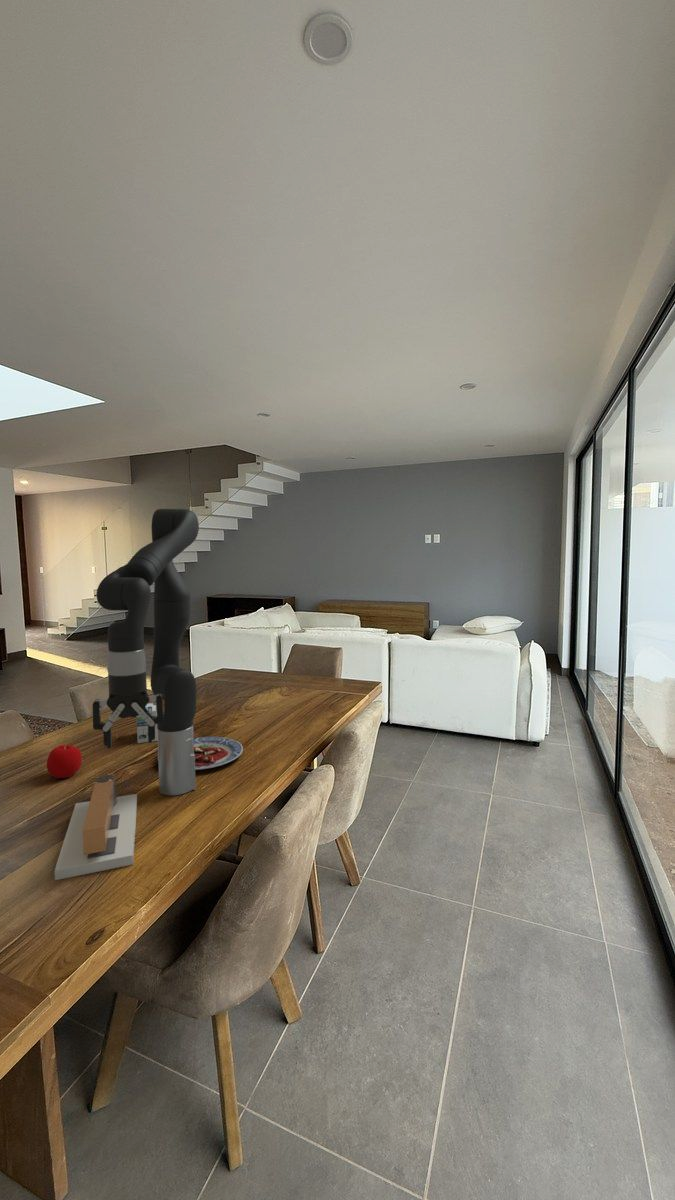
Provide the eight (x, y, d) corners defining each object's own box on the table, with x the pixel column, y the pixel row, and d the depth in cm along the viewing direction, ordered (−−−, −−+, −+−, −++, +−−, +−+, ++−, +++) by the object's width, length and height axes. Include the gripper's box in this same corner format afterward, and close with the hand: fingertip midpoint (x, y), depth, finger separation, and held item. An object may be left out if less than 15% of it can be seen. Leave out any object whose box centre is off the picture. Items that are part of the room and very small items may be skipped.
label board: (137, 801, 126) (136, 790, 126) (133, 864, 100) (132, 850, 100) (76, 811, 121) (75, 799, 121) (55, 880, 95) (54, 865, 95)
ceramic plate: (222, 780, 139) (221, 769, 139) (140, 772, 144) (139, 762, 144) (255, 746, 164) (254, 737, 164) (184, 740, 169) (184, 732, 169)
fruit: (88, 774, 142) (86, 741, 141) (53, 785, 135) (51, 750, 134) (75, 765, 148) (73, 733, 147) (42, 775, 141) (40, 742, 140)
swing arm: (116, 792, 123) (115, 773, 123) (106, 850, 99) (105, 826, 99) (96, 795, 122) (95, 776, 121) (82, 855, 97) (81, 830, 97)
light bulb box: (158, 741, 168) (157, 710, 167) (137, 744, 165) (135, 712, 165) (157, 731, 178) (156, 702, 177) (137, 733, 175) (136, 704, 174)
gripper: (162, 664, 111) (164, 734, 113) (92, 669, 106) (95, 742, 108) (162, 671, 104) (165, 746, 106) (87, 677, 99) (91, 755, 101)
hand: (130, 744), depth 107 cm, fingers open, 7 cm apart
